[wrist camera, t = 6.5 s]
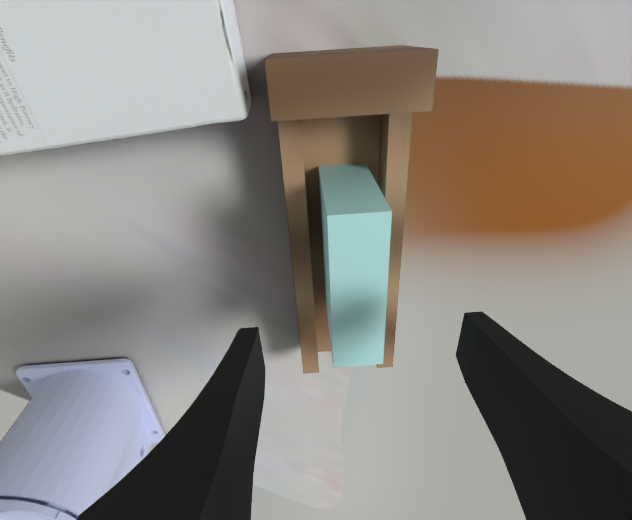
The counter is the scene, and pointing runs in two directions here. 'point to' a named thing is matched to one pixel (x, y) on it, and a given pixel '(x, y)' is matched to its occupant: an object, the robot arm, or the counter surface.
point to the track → (344, 156)
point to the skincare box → (116, 70)
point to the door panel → (355, 262)
